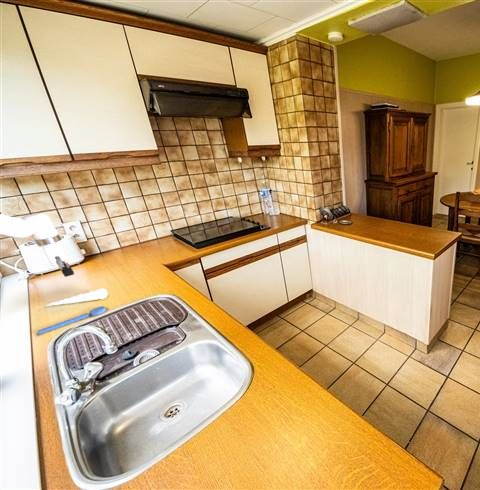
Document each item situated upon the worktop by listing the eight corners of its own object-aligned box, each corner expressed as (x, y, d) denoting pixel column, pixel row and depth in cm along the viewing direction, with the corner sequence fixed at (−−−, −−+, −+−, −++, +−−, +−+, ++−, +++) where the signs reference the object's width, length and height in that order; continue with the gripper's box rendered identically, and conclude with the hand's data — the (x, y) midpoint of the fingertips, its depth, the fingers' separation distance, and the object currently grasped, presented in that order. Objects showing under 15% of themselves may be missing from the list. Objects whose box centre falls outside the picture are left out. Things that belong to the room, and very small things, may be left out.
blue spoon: (38, 336, 101) (36, 333, 101) (40, 330, 104) (38, 328, 104) (106, 311, 114) (105, 309, 113) (105, 307, 117) (104, 304, 117)
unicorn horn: (53, 301, 124) (47, 293, 122) (109, 294, 127) (105, 286, 125) (43, 307, 119) (37, 299, 117) (102, 300, 122) (97, 291, 120)
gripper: (37, 239, 123) (59, 273, 130) (35, 247, 113) (58, 283, 121) (61, 234, 128) (80, 267, 135) (60, 241, 118) (80, 276, 126)
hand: (69, 275), depth 128 cm, fingers closed
